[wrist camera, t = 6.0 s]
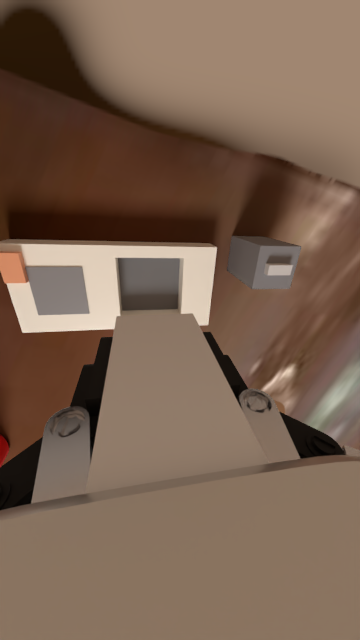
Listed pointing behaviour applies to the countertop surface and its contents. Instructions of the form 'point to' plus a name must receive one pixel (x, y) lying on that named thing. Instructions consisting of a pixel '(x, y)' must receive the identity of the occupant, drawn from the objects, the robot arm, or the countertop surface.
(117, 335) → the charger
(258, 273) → the cable plug
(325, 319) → the countertop surface
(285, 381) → the countertop surface
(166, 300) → the power strip
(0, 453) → the soda can
